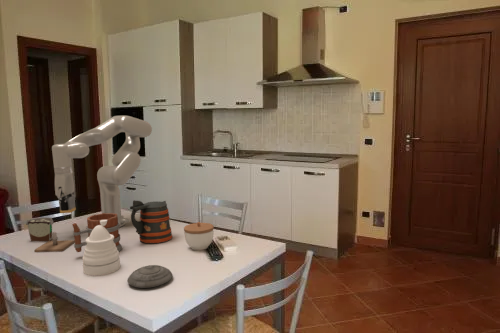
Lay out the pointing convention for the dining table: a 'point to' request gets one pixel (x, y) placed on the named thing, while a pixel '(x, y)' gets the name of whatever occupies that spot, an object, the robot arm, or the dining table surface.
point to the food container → (40, 229)
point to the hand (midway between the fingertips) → (67, 208)
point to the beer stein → (152, 221)
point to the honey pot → (100, 252)
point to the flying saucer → (149, 276)
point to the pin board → (55, 245)
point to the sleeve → (69, 205)
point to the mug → (94, 221)
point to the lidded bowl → (199, 235)
